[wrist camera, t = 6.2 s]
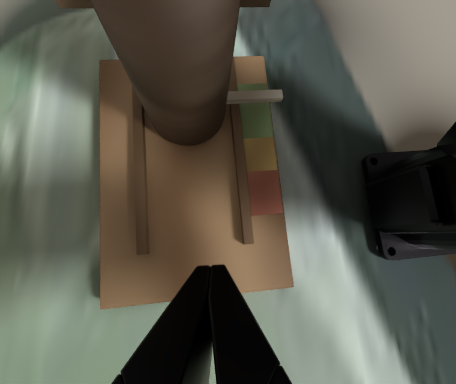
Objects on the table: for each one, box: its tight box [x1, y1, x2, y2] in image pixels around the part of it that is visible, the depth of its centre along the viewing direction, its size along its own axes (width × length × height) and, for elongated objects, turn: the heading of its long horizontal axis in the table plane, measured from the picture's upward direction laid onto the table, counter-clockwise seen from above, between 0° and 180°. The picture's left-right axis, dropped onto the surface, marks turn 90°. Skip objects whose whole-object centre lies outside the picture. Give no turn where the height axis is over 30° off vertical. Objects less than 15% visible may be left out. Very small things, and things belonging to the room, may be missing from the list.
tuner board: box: [100, 56, 294, 309], centre depth 14 cm, size 10×14×2 cm
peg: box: [55, 0, 283, 146], centre depth 10 cm, size 8×4×9 cm, turn 95°
